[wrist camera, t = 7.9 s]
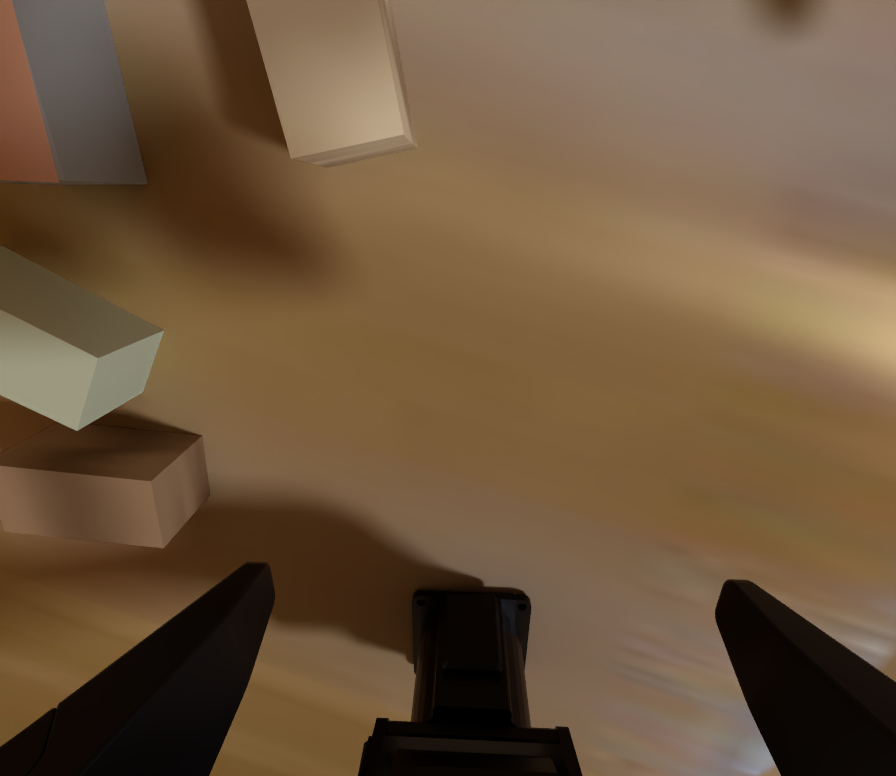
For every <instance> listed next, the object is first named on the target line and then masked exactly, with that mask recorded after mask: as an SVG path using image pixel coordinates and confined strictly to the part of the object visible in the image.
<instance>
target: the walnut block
mask: <svg viewBox="0 0 896 776" xmlns="http://www.w3.org/2000/svg"><path fill="white" fill-rule="evenodd" d="M209 496H210V491H209V483H208V476H207V468H206V461H205V453H204V446H203V438H202V436H200V435H190V434H180V433H171V432H161V431H152V430H142V429H132V428H123V427H113V426H104V425H94V424H88V425H86V426H85V427H83V428H81V429H80V430H78V431H76V430H74V429H72V428H69V427H67V426H65V425H63V424H61V423H59V422H57V423H55V424H53V425H51V426H49V427H47V428H45V429H44V430H42V431H40V432H38V433H36V434H34V435H33V436H31V437H29V438H27V439H25V440H23V441H21V442H20V443H18V444H16V445H14V446H12V447H10V448H8V449H7V450H5V451H3V452H1V453H0V520H1V522H2V525H3V528H4V531H5V532H12V533H21V534H31V535H41V536H50V537H60V538H69V539H79V540H89V541H98V542H108V543H118V544H127V545H137V546H146V547H156V548H164V547H165V546H166V545H167V544H168V543H169V542H170V540H171V539H172V538H173V537H174V536H175V535H176V534H177V532H178V531H179V530H180V529H181V528H182V527H183V526H184V524H185V523H186V522H187V521H188V520H189V519H190V518H191V516H192V515H193V514H194V513H195V512H196V511H197V510H198V508H199V507H200V506H201V505H202V504H203V503H204V502H205V500H206V499H207V498H208V497H209Z"/></svg>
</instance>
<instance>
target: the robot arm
mask: <svg viewBox="0 0 896 776" xmlns="http://www.w3.org/2000/svg"><path fill="white" fill-rule="evenodd" d="M274 600H275V590H274V585H273V580H272V574H271V569H270V566H269V564H268V563H266V562H247V563H245V564H243V565H242V566H241V567H239V568H238V569H237V570H235V571H234V572H233V573H231V574H230V575H229V576H227V577H226V578H225V579H223V580H222V581H221V582H219V583H218V584H217V585H215V586H214V587H213V588H211V589H210V590H209V591H207V592H206V593H205V594H203V595H202V596H201V597H199V598H198V599H197V600H196V601H194V602H193V603H192V604H190V605H189V606H188V607H186V608H185V609H184V610H182V611H181V612H180V613H178V614H177V615H176V616H174V617H173V618H172V619H170V620H169V621H168V622H166V623H165V624H164V625H162V626H161V627H160V628H158V629H157V630H156V631H154V632H153V633H152V634H150V635H149V636H148V637H146V638H145V639H144V640H142V641H141V642H140V643H138V644H137V645H136V646H134V647H133V648H132V649H131V650H129V651H128V652H127V653H125V654H124V655H123V656H121V657H120V658H119V659H117V660H116V661H115V662H113V663H112V664H111V665H109V666H108V667H107V668H105V669H104V670H103V671H101V672H100V673H99V674H97V675H96V676H95V677H93V678H92V679H91V680H89V681H88V682H87V683H85V684H84V685H83V686H81V687H80V688H79V689H77V690H76V691H75V692H73V693H72V694H71V695H69V696H68V697H67V698H66V699H64V700H63V701H62V702H60V703H59V704H58V706H57V709H56V708H52V709H51V710H49V711H48V712H47V713H45V714H44V715H43V716H41V717H40V718H39V719H37V720H36V721H35V722H33V723H32V724H31V725H29V726H28V727H27V728H25V729H24V730H23V731H21V732H20V733H19V734H17V735H16V736H15V737H13V738H12V739H10V740H9V741H8V742H6V743H5V744H4V745H2V746H1V747H0V776H209V775H210V772H211V770H212V768H213V765H214V763H215V761H216V758H217V756H218V754H219V751H220V749H221V747H222V744H223V742H224V740H225V737H226V735H227V733H228V730H229V728H230V726H231V723H232V721H233V719H234V716H235V714H236V712H237V709H238V707H239V705H240V702H241V700H242V698H243V695H244V693H245V690H246V688H247V685H248V682H249V680H250V677H251V674H252V671H253V668H254V665H255V661H256V658H257V655H258V652H259V649H260V646H261V643H262V639H263V636H264V633H265V630H266V627H267V624H268V621H269V617H270V614H271V611H272V608H273V605H274ZM530 615H531V602H530V598H529V597H528V596H526V595H523V594H503V593H478V592H453V591H427V590H420V591H416V592H415V593H414V594H413V599H412V618H413V651H414V672H415V674H416V680H415V689H414V698H413V707H412V716H411V722H407V721H389V718H377V719H376V723H375V727H374V731H373V735H372V736H369V738H368V741H367V742H365V743H364V747H363V752H362V758H361V763H360V768H359V773H358V776H582V773H581V769H580V766H579V762H578V759H577V755H576V752H575V749H574V745H573V742H572V738H571V735H570V731H569V728H568V727H559V726H556V728H555V729H551V728H531V723H530V715H529V707H528V698H527V690H526V681H525V673H524V670H525V661H526V652H527V642H528V633H529V624H530ZM715 618H716V623H717V626H718V628H719V631H720V634H721V636H722V639H723V642H724V644H725V647H726V650H727V652H728V655H729V658H730V660H731V663H732V666H733V668H734V671H735V674H736V676H737V679H738V682H739V684H740V687H741V690H742V692H743V695H744V697H745V700H746V702H747V705H748V707H749V709H750V712H751V714H752V716H753V718H754V720H755V722H756V725H757V727H758V729H759V731H760V733H761V735H762V737H763V739H764V741H765V743H766V745H767V747H768V749H769V751H770V754H771V756H772V758H773V760H774V762H775V764H776V766H777V768H778V770H779V772H780V774H781V776H896V682H895V681H894V680H892V679H890V678H889V677H888V676H886V675H885V674H884V673H882V672H881V671H879V670H878V669H876V668H875V667H873V666H872V665H871V664H869V663H868V662H866V661H865V660H863V659H862V658H861V657H859V656H858V655H856V654H855V653H853V652H852V651H851V650H849V649H848V648H846V647H845V646H843V645H842V644H840V643H839V642H838V641H836V640H835V639H833V638H832V637H830V636H829V635H828V634H826V633H825V632H823V631H822V630H820V629H819V628H818V627H816V626H815V625H813V624H812V623H810V622H809V621H807V620H806V619H805V618H803V617H802V616H800V615H799V614H797V613H796V612H795V611H793V610H792V609H790V608H789V607H787V606H786V605H785V604H783V603H782V602H780V601H779V600H777V599H776V598H774V597H773V596H772V595H770V594H769V593H767V592H766V591H764V590H763V589H762V588H760V587H759V586H757V585H756V584H754V583H753V582H751V581H748V580H734V579H729V580H727V581H725V582H724V584H723V587H722V590H721V593H720V596H719V599H718V603H717V606H716V609H715Z"/></svg>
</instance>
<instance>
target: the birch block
mask: <svg viewBox="0 0 896 776" xmlns="http://www.w3.org/2000/svg"><path fill="white" fill-rule="evenodd" d="M246 1H247V5H248V8H249V12H250V15H251V19H252V22H253V26H254V29H255V33H256V36H257V40H258V44H259V47H260V51H261V54H262V58H263V61H264V65H265V68H266V72H267V76H268V79H269V83H270V86H271V90H272V93H273V97H274V100H275V104H276V107H277V111H278V115H279V118H280V122H281V125H282V129H283V132H284V136H285V139H286V143H287V147H288V150H289V154H290V157H291V159H294V160H298V161H302V162H307V163H311V164H315V165H319V166H324V167H332V166H336V165H341V164H346V163H351V162H355V161H360V160H365V159H369V158H374V157H379V156H384V155H388V154H393V153H398V152H402V151H407V150H412V149H416V148H417V145H416V139H415V134H414V128H413V123H412V118H411V112H410V107H409V101H408V96H407V91H406V85H405V80H404V74H403V69H402V63H401V58H400V53H399V47H398V42H397V36H396V31H395V26H394V20H393V15H392V9H391V4H390V0H246Z"/></svg>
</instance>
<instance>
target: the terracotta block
mask: <svg viewBox="0 0 896 776" xmlns="http://www.w3.org/2000/svg"><path fill="white" fill-rule="evenodd" d="M0 180H6V181H27V182H48V183H59V180H58V176H57V172H56V169H55V165H54V161H53V157H52V153H51V149H50V145H49V142H48V138H47V134H46V130H45V126H44V122H43V118H42V115H41V111H40V107H39V103H38V99H37V95H36V91H35V88H34V84H33V80H32V76H31V72H30V68H29V64H28V61H27V57H26V53H25V49H24V45H23V41H22V37H21V34H20V30H19V26H18V22H17V18H16V14H15V10H14V7H13V3H12V0H0Z"/></svg>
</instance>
